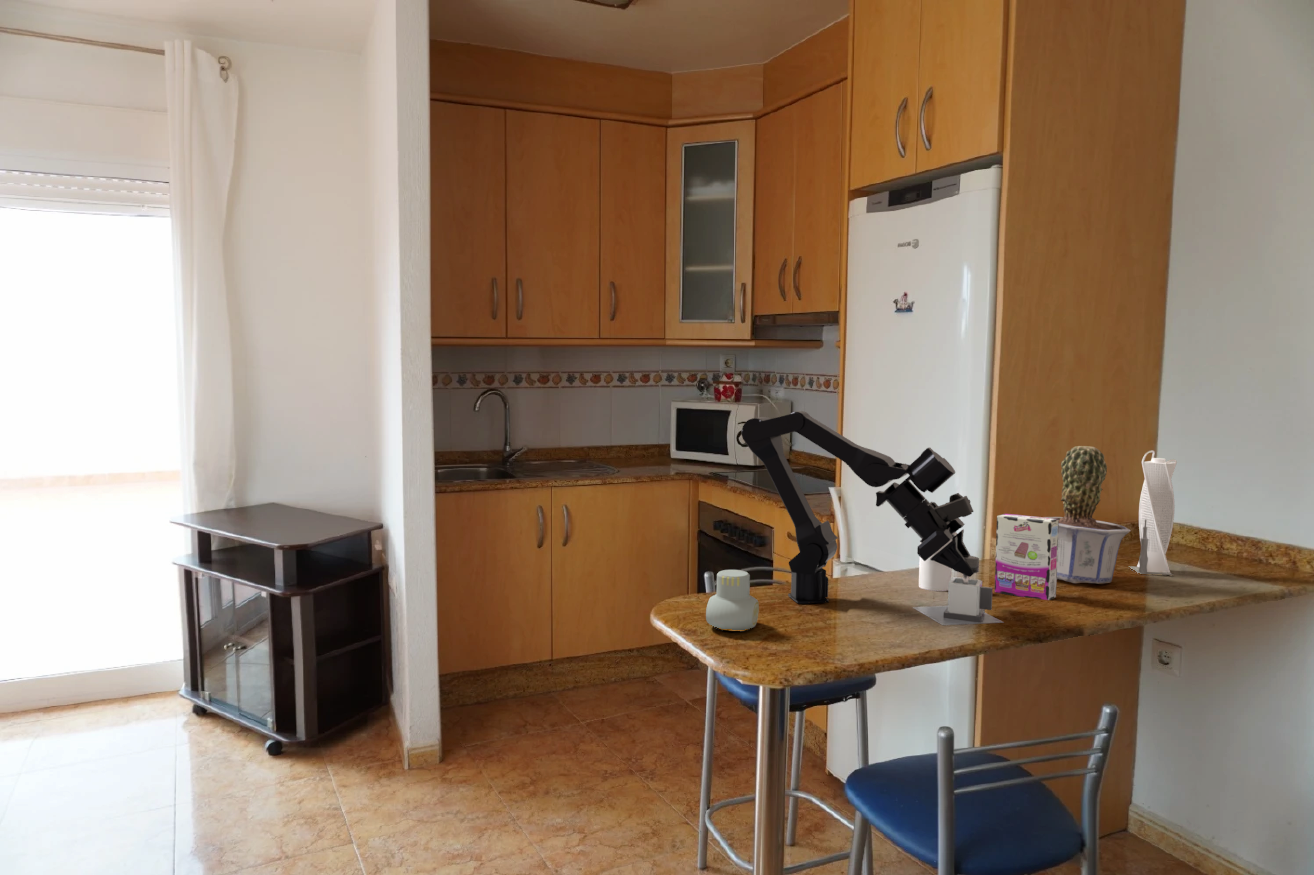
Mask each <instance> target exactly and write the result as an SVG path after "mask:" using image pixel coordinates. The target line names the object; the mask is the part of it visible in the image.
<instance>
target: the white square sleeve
mask: <svg viewBox="0 0 1314 875" xmlns="http://www.w3.org/2000/svg"><path fill="white" fill-rule="evenodd" d="M993 589H994V588H993V587H991V586H990V587H989V586H983V580H982V579H977V578H969V579H968V584H963V577H959V576H954V577H951V580H950V581H949V588H948V590H947V591H948V592H947V597H948V598H947V606H948V607H947V608H946V610H945V611H944V618H949V619H957V620H965V621H972V622H981V620H982V618H983V616H984V614H985V613H986V611H985V610H987V611H992V609H993Z"/></svg>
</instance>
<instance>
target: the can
mask: <svg viewBox="0 0 1314 875" xmlns="http://www.w3.org/2000/svg"><path fill="white" fill-rule="evenodd" d="M920 540H922V539H921V538H920ZM920 544H921V542H920V541H919V545H920ZM934 555H935V553H934V554H933V555H932V556H934ZM932 556H931V557H932ZM931 557H929V558H928V559H927V560H926V561H924V560H923V559H922V558H921V557H920V556H919V564H918V565H919V566H918V587H919V588H920V589H923V590H926V591H927V590H928V591H932V592H946V591H948V588H949V581H950V580H951V578H952V570H953V569H951V568H949V567H947V566H945V565H942V564H940V563H938V562H936V561H932V560H930V559H931Z"/></svg>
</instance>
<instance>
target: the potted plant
mask: <svg viewBox="0 0 1314 875" xmlns="http://www.w3.org/2000/svg"><path fill="white" fill-rule="evenodd" d="M1060 466H1061V471H1060V472H1061V477H1062V481H1063V482H1062V488H1061V499H1060V502H1062V504H1063V513H1064V516H1063V517H1062V516H1043V518H1051V519H1059V525H1058V552H1057V580H1060V581H1065V582H1069V583H1072V584H1080V583H1088V584H1098V585H1104V584H1108V583H1110V584H1111V583H1112V580H1113V576H1114V571H1115V567H1116V563H1117V557H1118V553H1119V549H1120V546H1121V542H1122V540H1123V538H1124V537H1125V536H1126V535H1127V534H1129V533H1130V532H1131V531H1132V530H1131V529H1130V528H1128V527H1126V526H1124V525H1121V524H1118V523H1113V522H1107V521H1104V520H1096V519H1095V518H1093V515H1094V514H1095V512H1096V509H1097V506H1098V505H1099V503H1100V502H1101V492H1102V491H1104V490H1103V488H1102V485H1103V483H1104V481H1105V479H1106V476H1107V469H1108V466H1107V463H1106V461H1105V454H1103V453H1102V452H1101V450H1100V449H1099V448H1096V447H1095V446H1089V445H1088V446H1087V445H1078V446H1074V447H1071V449H1070V450H1067V451H1066V455H1065V457H1064V458H1063V459H1062V461H1061V462H1060Z"/></svg>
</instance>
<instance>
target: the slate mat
mask: <svg viewBox="0 0 1314 875" xmlns="http://www.w3.org/2000/svg"><path fill="white" fill-rule="evenodd" d="M947 607H948V605H932V606H930V605H928V606H913V607H912V606H911V608H912V609H914V610H915V611H918V612H919V613H921V614H923V616H926V617H927V618H929V619H931V620H933V621H934V622H936V623H938V624H940V625H941V626H959V625H960V626H961V625H981V624H998V623H999V624H1000V623H1001V624H1002V623H1005V622H1004V621H1002V620H1000V619H998V618H996V617H994V616H993V615H991V614H989V613H987V612H985V614H984V616H983V618H982V620H981V622H972V621H965V620H957V619H949V618H944V611H945V610H946V608H947Z"/></svg>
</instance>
